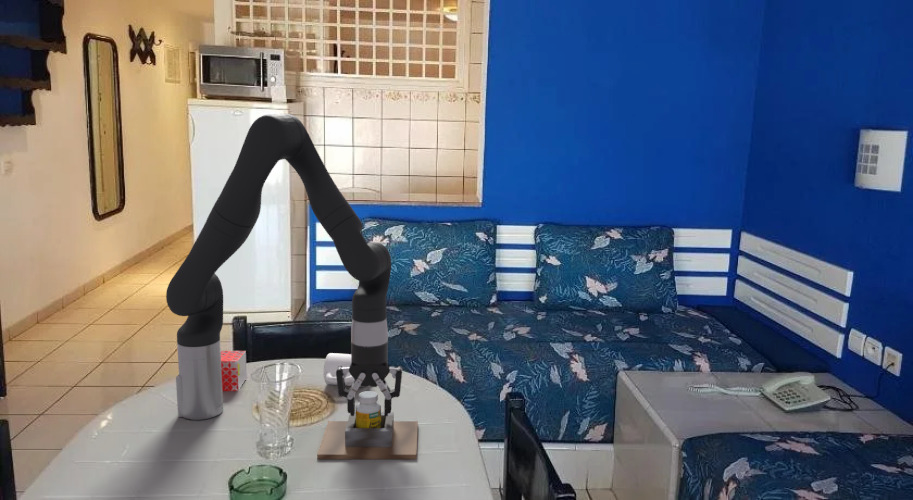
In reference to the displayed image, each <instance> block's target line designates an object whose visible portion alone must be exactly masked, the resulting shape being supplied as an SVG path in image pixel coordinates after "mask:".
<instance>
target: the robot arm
mask: <svg viewBox="0 0 913 500" xmlns="http://www.w3.org/2000/svg"><path fill="white" fill-rule="evenodd" d="M281 160H285V161H286V162H287V163H288V164H289V165H290V166H291V167H292V168H293V170H294V171H295V172H296V173H297V175H298V176H299V178H300V180H301V181H302V183H303V186H304V188H305V191H306V196H307V198H308V202H309V205H310V208H311V210H312V212H313V214H314V216H315V217H316V220H317V222H318V223H320V225H321V226H322V228H323V229H324V231H325V232H326V234H327V235H328V236H329V237H330V238H331V240H332V242H333V244H334V246H335V249H336V252H337V254H338V257H339V259H340V260H341V262H342V265H343V267H344V269H345V270H346V272H347V273H348V274H349V275H350V276H351V277H352V278H354V279H355V280H356V281H358V285H357V289H356V290H355V291H354V293H353V295H352V298H351V299H352V300H351V306H352V307H351V315H352V316H351V317H352V319H351V328H350V333H351V334H350V336H351V337H350V339H351V341H350V347H351V349H350V351H351V353H350V354H351V365H350V367H342V366H338V368H337V371H336V377H337V385H336V386H337V395H338V396H339V397H344V398H346V400H347V403H346V405H347V406H346V407H347V413H348V414H350V413H351V416H354V414H355V412H356V398H355V397H356V393H357V392H358V390H359V389H360V388H367V387H371V388H377V387H378V389H379V391H380V392H381V393H382V394H383V396H384V400H383V402H384V405H383V406H384V407H383V408H384V409H383V410H384V411H383V413H384V416H388V413H392V399H395V398H399V397H400V395H401V386H402V378H403V367H402V366H400V365H399V366H397V367H391V366H390V365H389V363H388V356H389V355H388V351H389V350H388V347H389V346H388V342H389V340H388V339H389V333H388V332H389V329H388V322H387V294H388V289H389V286H390V285H389V284H390V281H391V280H390V279H391V272H392V257H391V253H390V251H389V249H388V248H387V247H386V246H385V245H384V244H382V243H380V242H377V241H376V242H375V241H374V242H373V241H372V242H367V241H366V240H365V237H364V236H363V234H362V229H363V226H364V225H363V223H362V220H361V219H360V217H359V216H358V215H357V213H356V212H355V210H354V209H353V207H352V206H351V204H349V202H348V200H347V199H346V198H345V196H344V195H343V194H342V192H341V190H339V187H338V186H337V185H336V183H335V181H334V179H333V178H332V176H331V174H330V172H329V170H328V169H327V167H326V166H325V164H324V162H323V160H322V158H321V156H320V154H319V152H318V150H317V148H316V147H315V144H314V142H313V140H312V139H311V136H310V134H309V133H308V130H307V129H306V127H305V126H304V124H303V123H302V121H301V120H300V119H299V118H298V117H296V116H295V115H293V114H289V113H274V114H273V113H272V114H263V115H261V116H259V117H258V118H256V119H255V120H254V121H253V123H252V124H251V125H250V127H249V129H248V132H247V133H246V136H245V139H244V141H243V143H242V146H241V149H240V153H239V154H238V158H237V159H236V162H235V165H234V167H233V169H232V171H231V173H230V174H229V175H228V176H229V177H228V178H227V180H226V183H225V184H224V186H223V188H222V190H221V192H220V194H219V196H218V198H217V199H216V201H215V203H213V206H212V208H211V210H210V212H209V214H208V216H207V217H206V220H205V222H204V225H203V227H202V228H201V230H200V232H199V234H198V236H197V237H196V239H195V240H194V243H193V245H192V247H191V248H190V251H189V253H188V255H187V256H186V258H185V259H184V261H183V262H182V264H181V265H179V267H178V269H177V270H176V272H175V273H174V275H173V277H172V278H171V280H170V282H169V283H168V285H167V288H166V293H165V299H166V303H167V307H168V309H169V310H170V311H171V312H172V313H173V314H175V315H177V316H179V317H187V318H186V320H185V322H184V323H183V324H182V325H181V326H180V327H179V328H178V329H177V332H176V344H177V345H176V348H177V362H178V363H177V364H178V375H177V376H176V377H175V386H176V387H175V389H176V401H177V404H176V406H177V417H178V418H184V419H186V420H187V419H188V420H194V421H195V420H199V421H201V420H207V419H211V418H214V417H217V416H219V415H220V414H222V412H223V411H224V397H223V396H224V395H223V392H224V391H222V369H221V351H222V350H221V349H222V348H221V331H222V328H223V326H224V290H223V286H222V282H221V280H220V278H219V277H218V275H217V274H216V272H217V271H218V270H219V268H220V267H222V266H223V265H224V264H225V262H226V261H228V260H229V259H230V258H231V257H232V256H233V255H234V254H235V253H236V252H237V251H238V250H239V249H240V248H241V247H242V246H243V244H244V243H245V242H246V241H247V240H248V238H249V235H250V234H251V233H252V230H253V229H254V227H255V225H256V223H257V221H258V219H259V216H260V215H261V214H260V213H261V207H262V194H263V193H262V192H263V188H264V184H265V183H266V181H267V179H268V177H269V176H270V174H271V173H272V170H273V169H274V167H275V166H276V165H277V164H278V162H279V161H281ZM347 373H350V374H351V375H352V377H353V378H354V379H355V381H354V382H353V385H352V386H350V388H349V389H347V388H346V386H345V380H344V378H346V376H347ZM389 374H390V375H391V377H392V378H393V379H395V380H394V381H395V382H394V389H390V387H389V384H388V382H387V380H386V378H387V376H388V375H389ZM360 386H362V387H360Z"/></svg>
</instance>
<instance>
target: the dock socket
mask: <svg viewBox="0 0 913 500" xmlns="http://www.w3.org/2000/svg"><path fill="white" fill-rule="evenodd" d="M394 415H395V413H394V412H391V413H388V416H384V412H381V428H356V411H355V414H354V416H351V413H349V415H348V419H347V420H335V421H334V420H328V421H327V424H326V427H325V430H324V432H323V437H322V439H321V441H320V445H319V448H318V451H317V454H316V460H417V455H418V454H417V451H418V429H419V428H418V426H419V422H418V421H416V420H415V421H411V420H410V421H409V420H406V421H405V420H404V421H403V420H401V421H400V420H399V421H398V420H394V419H395V418H394Z"/></svg>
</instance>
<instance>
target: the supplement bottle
mask: <svg viewBox="0 0 913 500" xmlns="http://www.w3.org/2000/svg"><path fill="white" fill-rule="evenodd" d="M378 395H379V394H378V393H377V392H375V391H373V390H367V391H366V390H365V391H362V392H360V393H359V394H358V402H357V403H356V404H355V412H356V428H381V413H382V405H381V403H380V402H379V401H378V400H379V397H378Z"/></svg>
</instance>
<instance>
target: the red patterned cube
mask: <svg viewBox="0 0 913 500" xmlns="http://www.w3.org/2000/svg"><path fill="white" fill-rule="evenodd" d="M246 351H247V350H221V369H222V391H223V392H239V391H240V390H241V389H240V387H241V385H242V384H243V382H244V380H245V379H247V378H248V377H247V375H248V374H247V353H246ZM243 385H244V384H243ZM241 388H242V387H241ZM239 389H240V390H239Z"/></svg>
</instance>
